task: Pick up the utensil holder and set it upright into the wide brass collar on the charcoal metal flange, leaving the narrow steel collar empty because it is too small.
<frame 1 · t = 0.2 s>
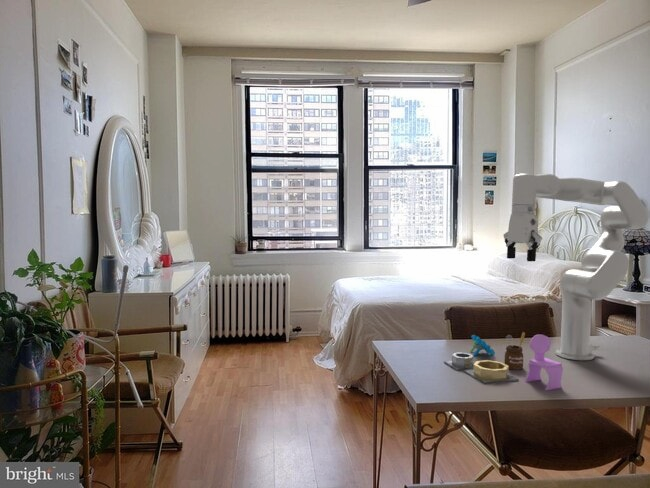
hand: (520, 259, 179), 36 cm above the table, tool pointing down, fingers open, 9 cm apart
wide socket: (490, 376, 166), on the table
narrow socket: (462, 365, 176), on the table
gear: (481, 355, 190), on the table
utensil holder: (513, 367, 175), on the table
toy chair: (543, 385, 158), on the table
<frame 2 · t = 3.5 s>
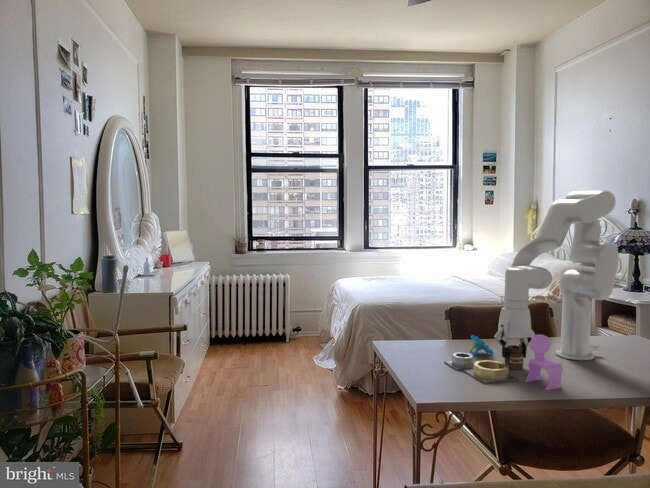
hand: (514, 356, 175), 4 cm above the table, tool pointing down, fingers closed on utensil holder, 5 cm apart
utensil holder: (514, 367, 175), on the table, touching gripper
everything else where it was.
when the fingers open (5 cm above the table, at t = 9.5 s): utensil holder drops 1 cm, resting on wide socket.
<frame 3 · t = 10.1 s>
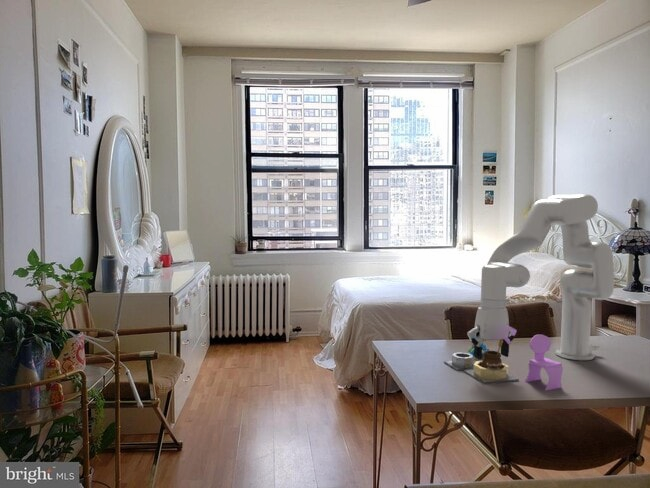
hand: (491, 356, 165), 6 cm above the table, tool pointing down, fingers open, 9 cm apart
utensil holder: (492, 374, 166), resting on wide socket
everything else where it was.
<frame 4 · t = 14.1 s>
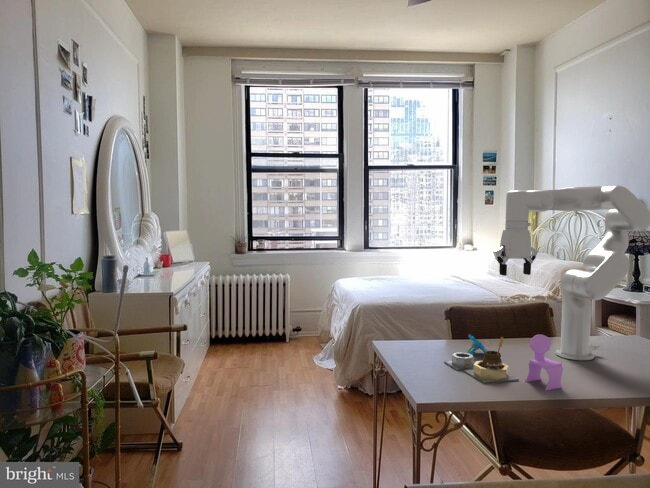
hand: (515, 274, 182), 30 cm above the table, tool pointing down, fingers open, 9 cm apart
at the end: utensil holder 0.5 cm from the wide socket (horizontally); utensil holder tilted 0°; the gripper is holding nothing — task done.
